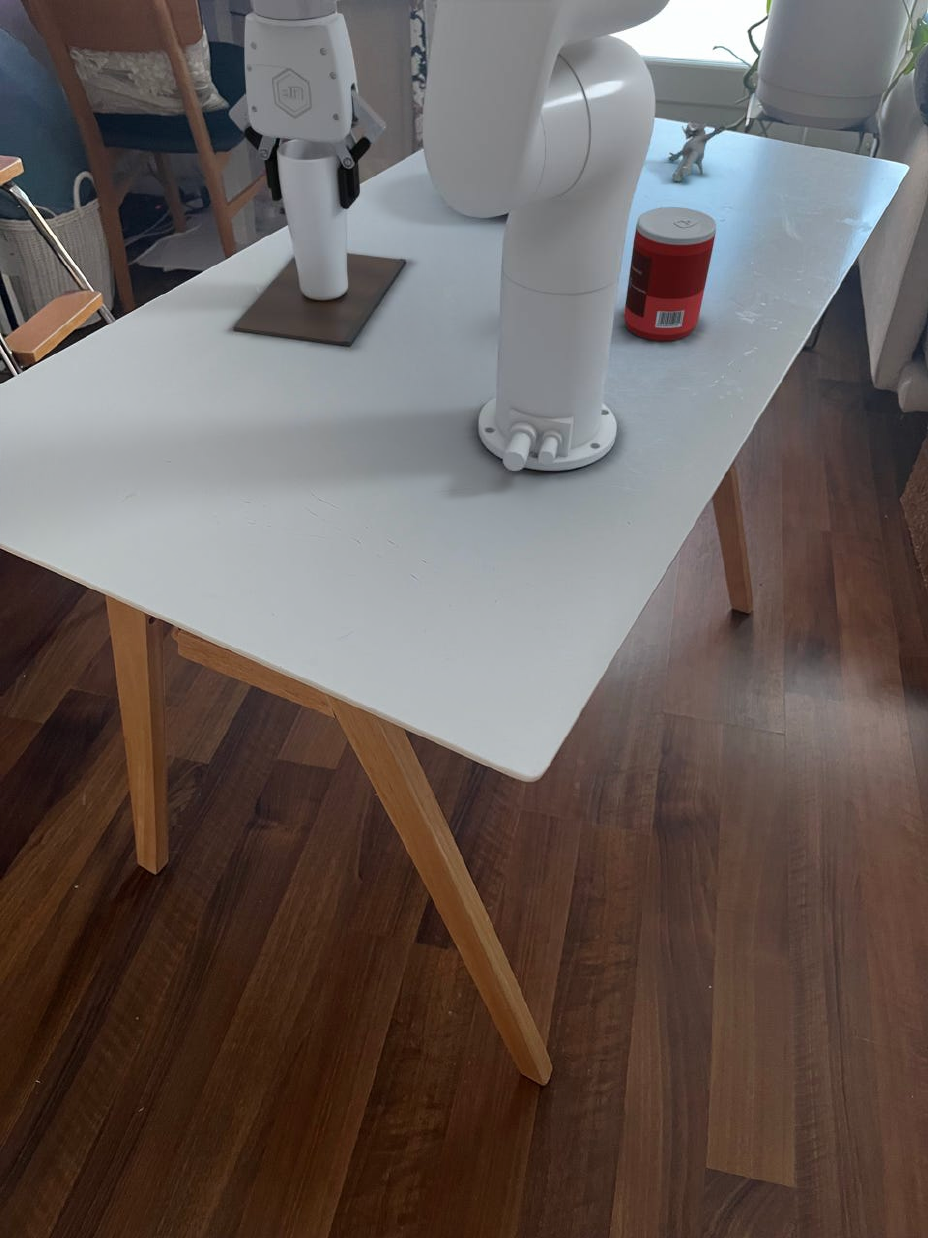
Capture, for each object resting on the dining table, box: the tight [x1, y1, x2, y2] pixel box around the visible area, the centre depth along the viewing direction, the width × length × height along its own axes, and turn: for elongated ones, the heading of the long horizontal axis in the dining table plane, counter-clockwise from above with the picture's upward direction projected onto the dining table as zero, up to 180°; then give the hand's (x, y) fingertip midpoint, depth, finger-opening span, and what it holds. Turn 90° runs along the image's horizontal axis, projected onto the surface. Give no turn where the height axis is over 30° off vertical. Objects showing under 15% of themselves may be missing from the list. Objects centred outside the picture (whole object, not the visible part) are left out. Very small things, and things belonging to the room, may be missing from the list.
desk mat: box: [232, 252, 407, 347], centre depth 104 cm, size 20×13×1 cm, turn 166°
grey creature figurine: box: [667, 120, 727, 183], centre depth 129 cm, size 10×6×9 cm
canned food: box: [623, 206, 717, 342], centre depth 96 cm, size 8×8×11 cm
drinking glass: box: [277, 139, 348, 300], centre depth 99 cm, size 7×7×15 cm
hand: (314, 198), depth 97 cm, fingers closed on drinking glass, 6 cm apart
